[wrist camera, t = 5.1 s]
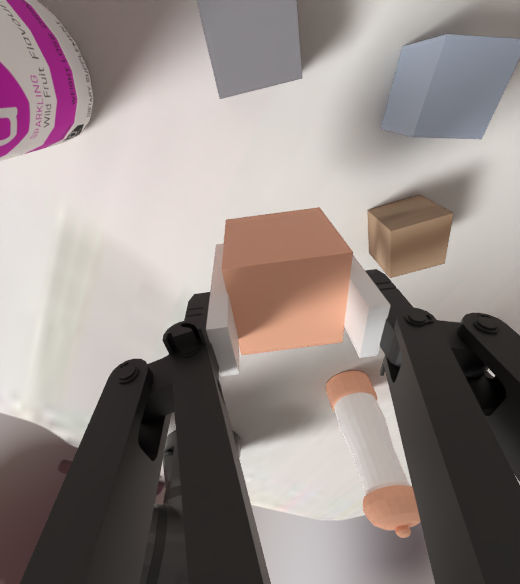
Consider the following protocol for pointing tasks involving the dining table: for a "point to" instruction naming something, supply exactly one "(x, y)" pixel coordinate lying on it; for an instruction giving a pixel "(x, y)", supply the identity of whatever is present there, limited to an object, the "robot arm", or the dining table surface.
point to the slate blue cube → (450, 85)
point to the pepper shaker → (373, 453)
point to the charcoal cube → (251, 43)
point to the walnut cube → (409, 235)
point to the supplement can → (39, 80)
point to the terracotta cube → (286, 280)
